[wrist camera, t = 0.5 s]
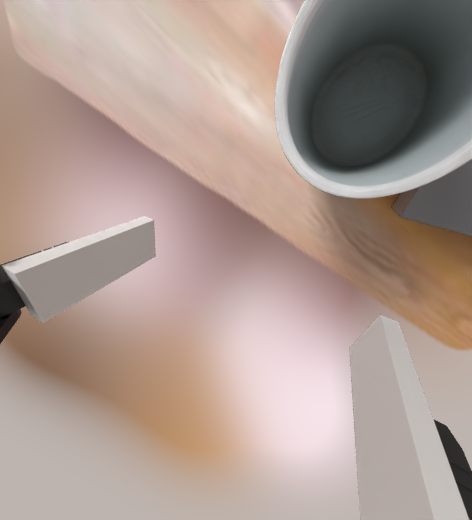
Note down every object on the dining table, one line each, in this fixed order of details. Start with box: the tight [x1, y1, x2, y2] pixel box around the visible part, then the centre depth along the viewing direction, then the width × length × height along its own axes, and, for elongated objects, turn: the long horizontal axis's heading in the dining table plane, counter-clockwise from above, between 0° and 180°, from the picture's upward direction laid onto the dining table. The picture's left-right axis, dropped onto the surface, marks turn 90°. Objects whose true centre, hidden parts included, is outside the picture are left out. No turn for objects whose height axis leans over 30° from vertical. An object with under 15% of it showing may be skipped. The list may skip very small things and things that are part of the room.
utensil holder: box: [275, 0, 472, 199], centre depth 19 cm, size 15×15×18 cm
